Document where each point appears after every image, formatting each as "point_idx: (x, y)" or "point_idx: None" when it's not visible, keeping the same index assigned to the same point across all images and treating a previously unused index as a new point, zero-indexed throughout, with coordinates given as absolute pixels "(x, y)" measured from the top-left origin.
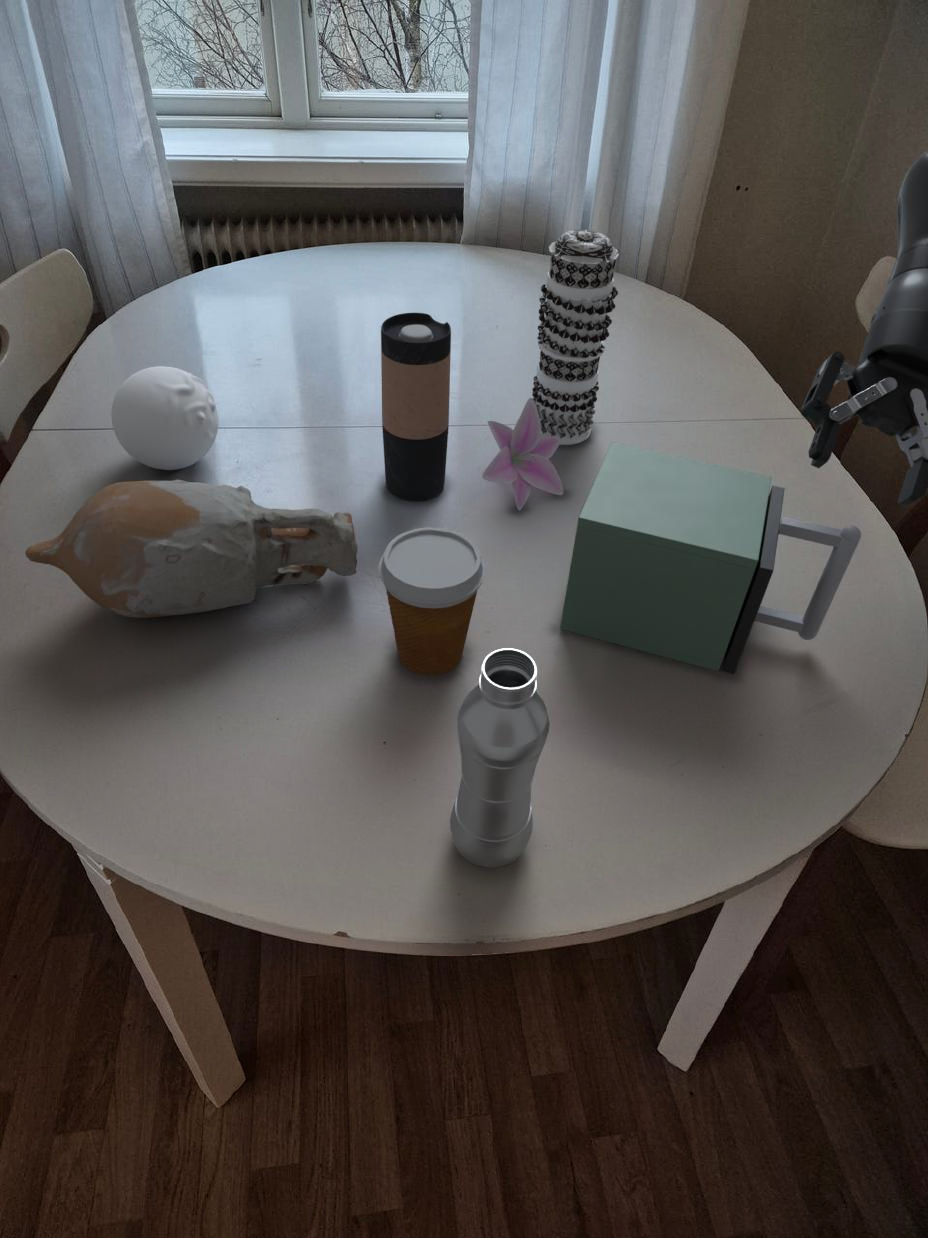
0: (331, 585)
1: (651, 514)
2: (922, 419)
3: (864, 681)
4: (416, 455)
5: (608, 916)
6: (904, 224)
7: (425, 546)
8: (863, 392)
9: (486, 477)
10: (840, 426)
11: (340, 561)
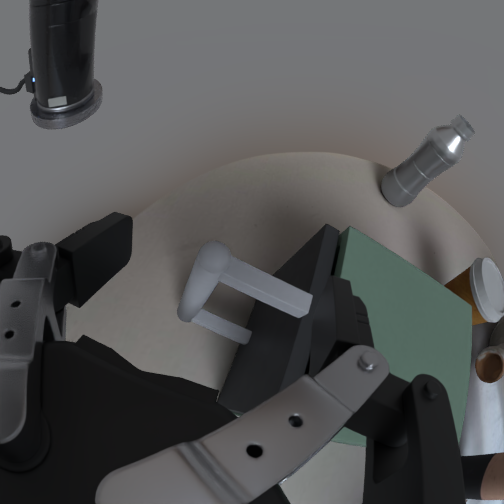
0: (472, 363)
1: (436, 313)
2: (19, 316)
3: (142, 264)
4: (483, 456)
5: (344, 155)
6: None
7: (498, 300)
8: (314, 440)
9: None
10: (337, 335)
11: (490, 346)
